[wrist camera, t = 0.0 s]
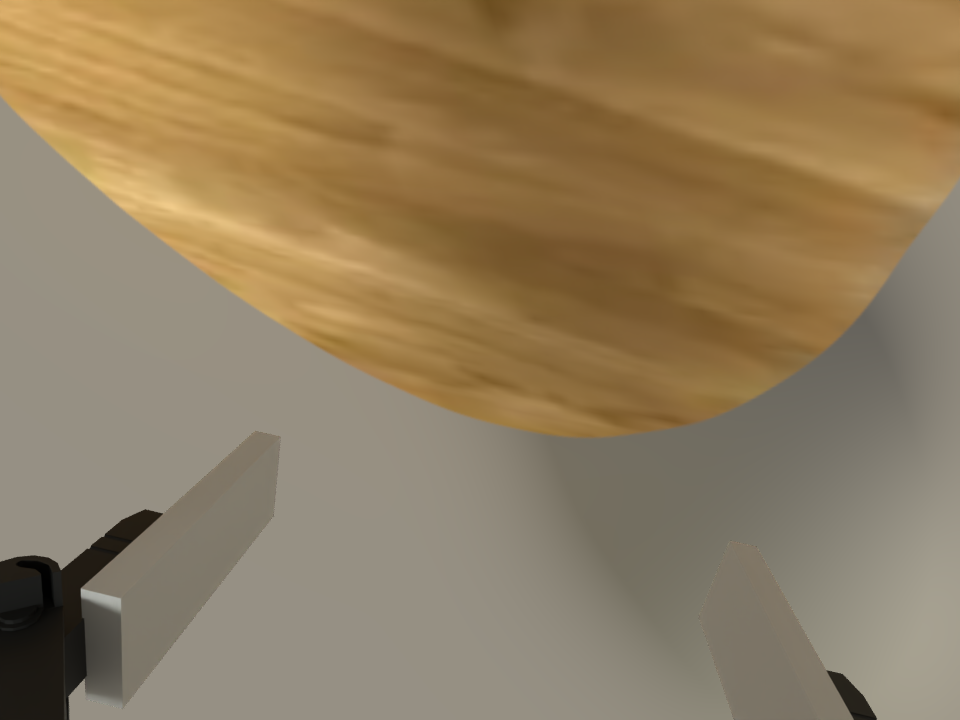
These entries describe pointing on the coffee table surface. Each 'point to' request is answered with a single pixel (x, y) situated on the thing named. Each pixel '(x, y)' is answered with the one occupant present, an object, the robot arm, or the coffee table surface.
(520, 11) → the coffee table surface
